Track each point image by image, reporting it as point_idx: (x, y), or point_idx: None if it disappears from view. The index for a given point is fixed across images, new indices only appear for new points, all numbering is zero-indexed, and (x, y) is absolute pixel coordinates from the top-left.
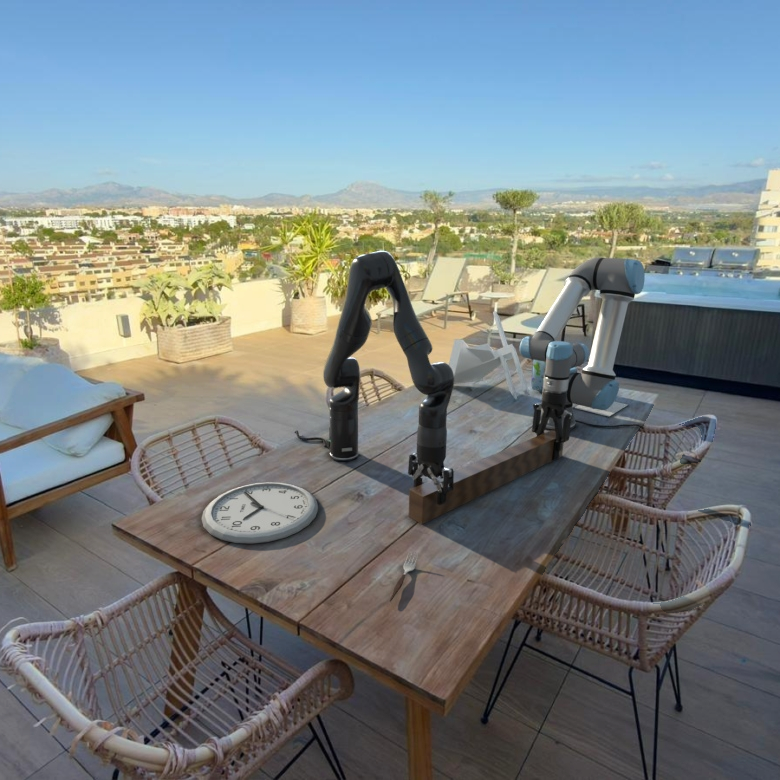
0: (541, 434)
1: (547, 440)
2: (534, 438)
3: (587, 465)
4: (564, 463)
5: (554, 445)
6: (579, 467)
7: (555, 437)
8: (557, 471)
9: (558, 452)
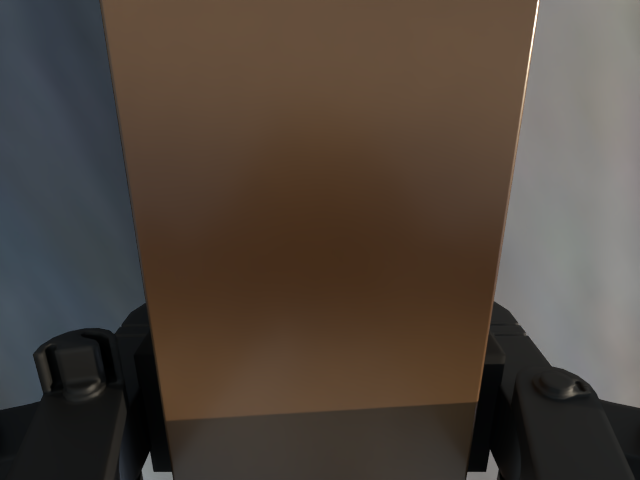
0: (474, 398)
1: (184, 216)
2: (477, 63)
3: (6, 389)
4: (140, 279)
5: None
6: (7, 308)
7: (196, 461)
8: (40, 51)
9: None
